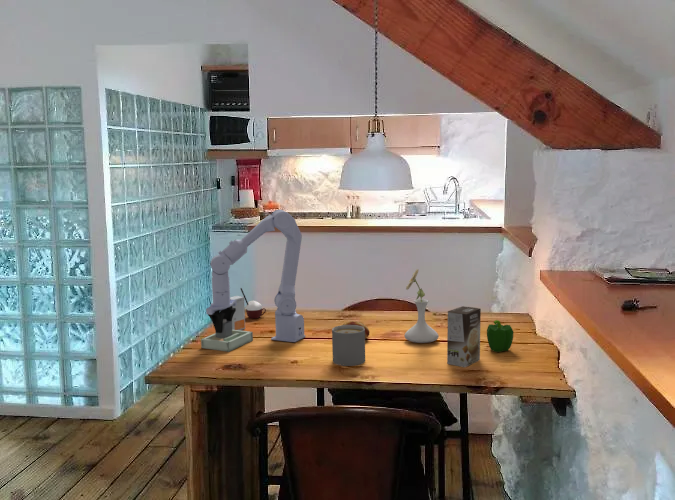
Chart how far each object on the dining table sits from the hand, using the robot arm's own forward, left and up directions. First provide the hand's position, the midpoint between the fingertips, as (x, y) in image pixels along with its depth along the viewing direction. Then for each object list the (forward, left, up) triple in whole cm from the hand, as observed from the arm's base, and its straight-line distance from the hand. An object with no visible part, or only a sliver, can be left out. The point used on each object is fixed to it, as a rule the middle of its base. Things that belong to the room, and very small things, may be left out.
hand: (223, 330), depth 222 cm
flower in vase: (-61, -27, -5) cm, 66 cm away
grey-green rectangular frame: (-2, 0, -4) cm, 5 cm away
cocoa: (+10, -35, -5) cm, 36 cm away
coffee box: (-80, -11, -5) cm, 80 cm away
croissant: (-39, -22, -5) cm, 45 cm away
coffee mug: (-47, -1, -5) cm, 47 cm away
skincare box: (+6, -17, -5) cm, 18 cm away
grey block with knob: (0, 0, -2) cm, 2 cm away
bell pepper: (-87, -27, -5) cm, 91 cm away
